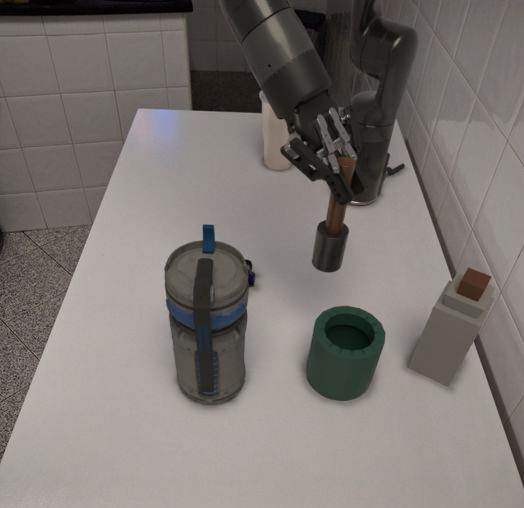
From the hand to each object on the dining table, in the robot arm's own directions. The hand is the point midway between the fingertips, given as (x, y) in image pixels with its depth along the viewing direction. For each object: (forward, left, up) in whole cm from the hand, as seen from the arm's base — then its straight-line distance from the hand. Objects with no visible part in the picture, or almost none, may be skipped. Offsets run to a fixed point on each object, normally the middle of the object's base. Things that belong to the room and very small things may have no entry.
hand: (354, 196), depth 65 cm
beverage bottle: (+21, 0, -26) cm, 34 cm away
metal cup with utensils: (-23, -48, -26) cm, 59 cm away
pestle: (+1, -2, -12) cm, 12 cm away
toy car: (+8, -20, -26) cm, 34 cm away
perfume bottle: (-12, +14, -26) cm, 32 cm away
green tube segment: (+3, +8, -26) cm, 27 cm away
